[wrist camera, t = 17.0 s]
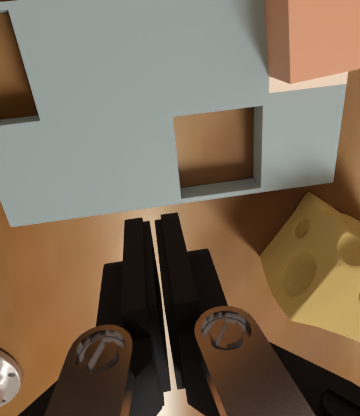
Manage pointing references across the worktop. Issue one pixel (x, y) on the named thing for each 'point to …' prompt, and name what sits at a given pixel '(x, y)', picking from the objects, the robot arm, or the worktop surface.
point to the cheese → (317, 267)
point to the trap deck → (151, 105)
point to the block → (312, 38)
